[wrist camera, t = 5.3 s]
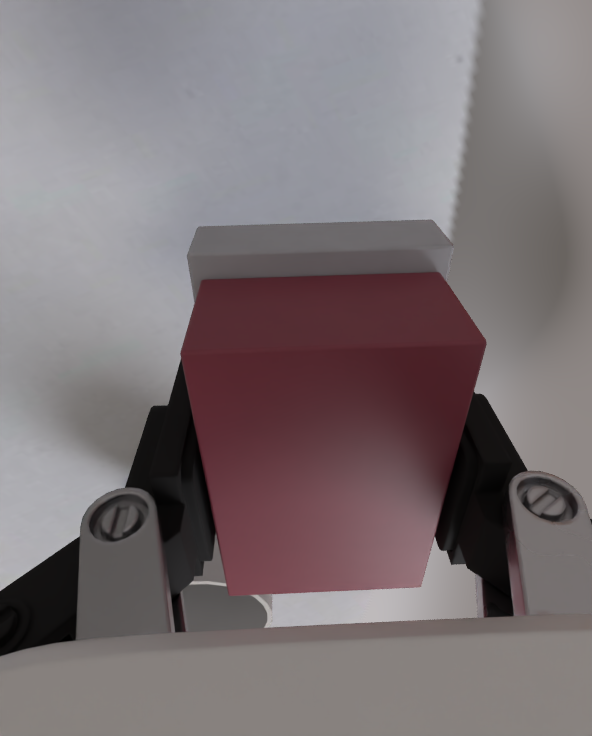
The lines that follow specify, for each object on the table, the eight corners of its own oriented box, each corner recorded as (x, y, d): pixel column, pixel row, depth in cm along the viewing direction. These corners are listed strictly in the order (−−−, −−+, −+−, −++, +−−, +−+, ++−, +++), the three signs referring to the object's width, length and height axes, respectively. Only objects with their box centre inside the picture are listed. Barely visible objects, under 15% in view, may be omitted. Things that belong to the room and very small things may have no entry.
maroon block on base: (196, 225, 10) (159, 323, 7) (433, 218, 10) (511, 311, 7) (236, 499, 15) (226, 627, 12) (389, 492, 15) (421, 618, 12)
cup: (265, 523, 35) (264, 652, 27) (127, 514, 33) (86, 646, 26) (279, 455, 30) (281, 584, 23) (122, 441, 29) (71, 574, 22)
